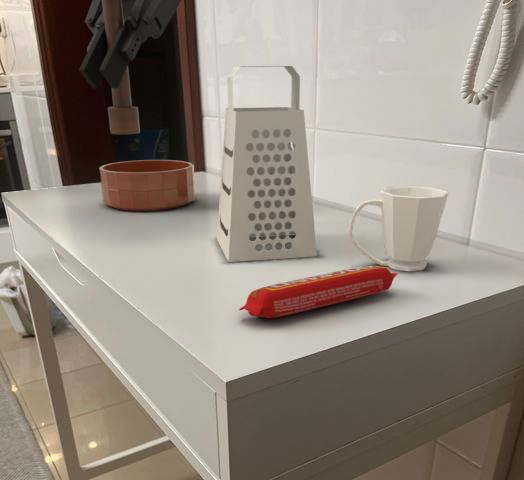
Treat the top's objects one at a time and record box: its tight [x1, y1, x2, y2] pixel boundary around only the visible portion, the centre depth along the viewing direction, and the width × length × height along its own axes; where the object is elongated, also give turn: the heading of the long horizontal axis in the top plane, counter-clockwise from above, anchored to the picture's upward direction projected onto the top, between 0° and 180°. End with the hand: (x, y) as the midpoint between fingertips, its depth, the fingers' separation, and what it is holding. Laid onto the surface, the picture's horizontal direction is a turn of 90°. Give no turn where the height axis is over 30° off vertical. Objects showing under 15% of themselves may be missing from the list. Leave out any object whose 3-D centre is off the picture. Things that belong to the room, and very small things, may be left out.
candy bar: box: [238, 265, 398, 319], centre depth 51 cm, size 16×4×3 cm, turn 121°
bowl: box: [98, 159, 196, 212], centre depth 93 cm, size 15×15×6 cm
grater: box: [216, 65, 318, 263], centre depth 65 cm, size 10×10×20 cm
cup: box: [348, 185, 449, 272], centre depth 60 cm, size 7×10×8 cm
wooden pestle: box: [102, 0, 141, 135], centre depth 66 cm, size 4×4×17 cm
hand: (98, 78), depth 64 cm, fingers closed on wooden pestle, 2 cm apart
